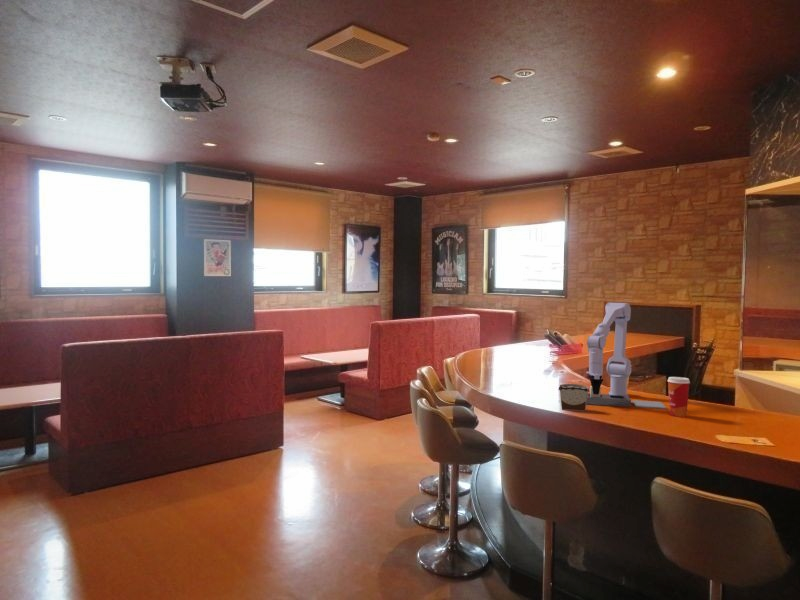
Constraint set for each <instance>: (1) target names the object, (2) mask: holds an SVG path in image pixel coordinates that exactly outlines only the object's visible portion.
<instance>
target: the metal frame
mask: <svg viewBox="0 0 800 600" xmlns="http://www.w3.org/2000/svg"><path fill="white" fill-rule="evenodd" d="M628 396H629V395H628V394H627V395H610V394H609V393H608V394H607V393H601V397H590V392H588V395H587V402H586V405H593V406H610V407H627V408H631V407H632V400H631V398H630V396H629V397H628Z"/></svg>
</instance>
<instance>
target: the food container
mask: <svg viewBox="0 0 800 600" xmlns="http://www.w3.org/2000/svg"><path fill="white" fill-rule="evenodd" d="M558 391H559V397H560V404H561V411H575V412H577V411H579V412H586V408H587V404H586V402H587V395H588V393H590V387H589V386H587V385H583V384H576V383H566V384H565V383H562V384H560V385H559V386H558Z"/></svg>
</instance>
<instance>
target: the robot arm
mask: <svg viewBox="0 0 800 600" xmlns="http://www.w3.org/2000/svg"><path fill="white" fill-rule="evenodd" d="M604 308H605V309H604V311H605V315H604V317H603V321H602V322H601V323H598V325H597V326H596V328H595V329H594V332H593V334H592V335H590V336H588V337H587V339H586V346H587V351H588V371H586V374H587V375H588V376H587V377H588V378H589V381H590V386H592V389H593V394H599V391H600V388H601V386H602V383H603V381H604V378H603V375H604V371H603V370H604V369H603V368H604V367H603V366H604V365H603V364H604V348H605V347H606V344H607V338H608V336H609V333H610V332H611V328H610V327H611V325H612V324H613V323H614V322H615V329H614V330H615V332H614V342H613V343H614V344H613V355H612V356H611V357H610V358H608V361H607V364H606V373H607V374H608V376H609V377H610V391H608V394H610V395H628V393H627V392H628V378H629V377H630V376H631V374H632V361H631V360H630V359H628V358H629V357H626V345H627V344H626V343H627V342H626V341H627V331H628V330H627V328H628V322H629V321H630V320H631V315H632V314H631V312H632V308H631V305H630V303H628V302H610V301H609V302H607V303H606V304H605V307H604ZM586 374H585V375H586ZM628 397H629V398H630V396H629V395H628Z"/></svg>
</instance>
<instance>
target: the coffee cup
mask: <svg viewBox="0 0 800 600" xmlns="http://www.w3.org/2000/svg"><path fill="white" fill-rule="evenodd" d="M666 381H667V382H668V383H667V386H668V387H667V389H668V390H667V391H668V409H669V410H668V411H669V416H672V417H675V418H686V417H687V415H688V413H687V412H688V405H689V404H688V403H689V390H690V384H691V381H690V379H689V378H688V377H682V376H669V377H668V379H667V380H666Z"/></svg>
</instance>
